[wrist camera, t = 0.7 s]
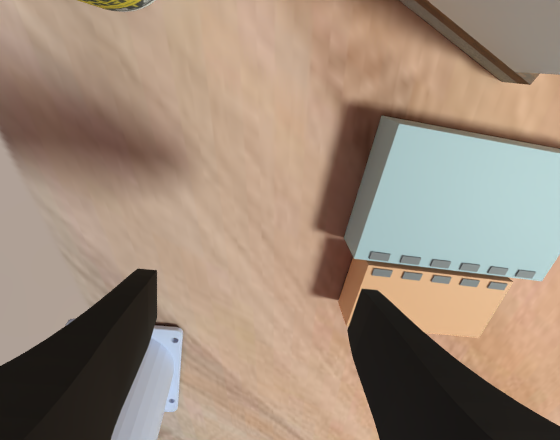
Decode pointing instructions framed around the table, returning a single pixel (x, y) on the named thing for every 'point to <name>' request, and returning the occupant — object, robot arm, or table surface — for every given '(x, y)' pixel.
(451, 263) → the notched pale blue slab
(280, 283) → the table surface
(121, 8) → the supplement bottle
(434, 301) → the stub
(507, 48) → the brown-striped cream pillar
